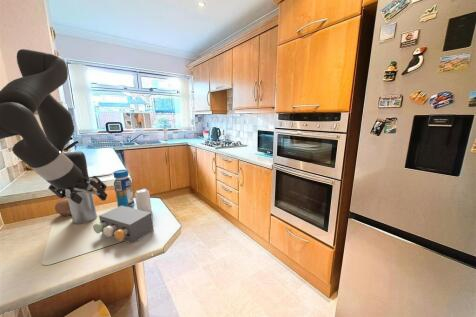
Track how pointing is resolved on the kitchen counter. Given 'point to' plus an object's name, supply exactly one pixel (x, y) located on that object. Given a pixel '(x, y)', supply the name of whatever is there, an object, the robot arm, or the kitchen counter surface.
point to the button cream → (110, 230)
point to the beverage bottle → (123, 188)
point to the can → (143, 200)
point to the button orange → (121, 234)
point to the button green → (99, 226)
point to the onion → (63, 207)
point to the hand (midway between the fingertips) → (92, 199)
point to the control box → (129, 221)
